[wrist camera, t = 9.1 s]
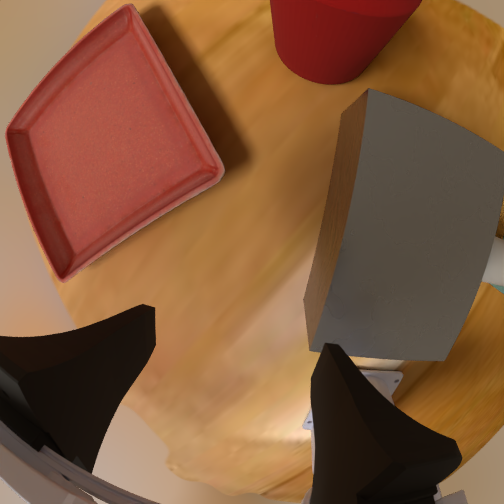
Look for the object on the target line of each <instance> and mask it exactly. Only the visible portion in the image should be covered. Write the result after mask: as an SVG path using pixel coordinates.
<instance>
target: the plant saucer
mask: <svg viewBox="0 0 504 504" xmlns="http://www.w3.org/2000/svg"><path fill="white" fill-rule="evenodd" d="M5 138H6V143H7V147H8V152H9V156H10V160H11V164H12V168H13V171H14V175H15V178H16V181H17V185H18V188H19V191H20V194H21V197H22V200H23V203H24V206H25V208H26V211H27V214H28V217H29V219H30V222H31V224H32V227H33V229H34V231H35V234H36V236H37V238H38V241H39V243H40V245H41V247H42V249H43V251H44V254H45V256H46V258H47V260H48V262H49V264H50V266H51V268H52V270H53V272H54V274H55V276H56V277H57V279H58V280H59V281H60V282H62V283H65V282H67V281H68V280H70V279H71V278H72V277H74V276H75V275H76V274H77V273H79V272H80V271H82V270H83V269H84V268H86V267H87V266H88V265H90V264H91V263H92V262H94V261H95V260H96V259H98V258H99V257H101V256H102V255H104V254H105V253H106V252H108V251H109V250H111V249H112V248H113V247H115V246H116V245H118V244H119V243H121V242H122V241H124V240H125V239H127V238H128V237H130V236H131V235H133V234H134V233H136V232H137V231H139V230H140V229H142V228H143V227H145V226H147V225H148V224H150V223H151V222H153V221H154V220H156V219H158V218H159V217H161V216H162V215H164V214H166V213H167V212H169V211H171V210H172V209H174V208H175V207H177V206H179V205H181V204H182V203H184V202H185V201H187V200H189V199H191V198H193V197H194V196H196V195H198V194H200V193H201V192H203V191H205V190H206V189H208V188H210V187H212V186H214V185H215V184H217V183H218V182H219V181H220V180H221V179H222V178H223V176H224V173H225V167H224V164H223V162H222V160H221V159H220V157H219V155H218V153H217V151H216V150H215V148H214V146H213V144H212V142H211V140H210V139H209V137H208V135H207V133H206V131H205V129H204V128H203V126H202V124H201V122H200V121H199V119H198V117H197V115H196V113H195V112H194V110H193V108H192V106H191V104H190V103H189V101H188V99H187V97H186V95H185V93H184V92H183V90H182V88H181V87H180V85H179V83H178V81H177V80H176V78H175V76H174V74H173V72H172V71H171V69H170V67H169V65H168V64H167V62H166V60H165V58H164V56H163V54H162V53H161V51H160V49H159V48H158V46H157V44H156V43H155V41H154V39H153V38H152V36H151V34H150V32H149V30H148V29H147V27H146V25H145V24H144V22H143V20H142V18H141V17H140V15H139V13H138V12H137V10H136V8H135V7H134V5H133V4H125V5H123V6H122V7H120V8H119V9H117V10H116V11H115V12H113V13H112V14H111V15H109V16H108V17H106V18H105V19H104V20H103V21H101V22H100V23H99V24H98V25H97V26H96V27H94V28H93V29H92V30H91V31H90V32H88V33H87V34H86V35H85V36H84V37H83V38H82V39H81V40H79V41H78V42H77V43H76V44H75V45H74V46H73V47H72V48H71V49H70V50H69V51H68V52H67V53H66V54H65V55H64V56H63V57H62V58H61V59H60V60H59V61H58V62H57V63H56V64H55V65H54V66H53V68H52V69H51V70H50V71H49V72H48V73H47V74H46V75H45V76H44V78H43V79H42V80H41V81H40V82H39V84H38V85H37V86H36V87H35V88H34V90H33V91H32V92H31V94H30V95H29V96H28V97H27V99H26V100H25V101H24V103H23V104H22V105H21V107H20V108H19V110H18V111H17V112H16V114H15V115H14V117H13V118H12V120H11V121H10V123H9V124H8V126H7V128H6V132H5Z"/></svg>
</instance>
